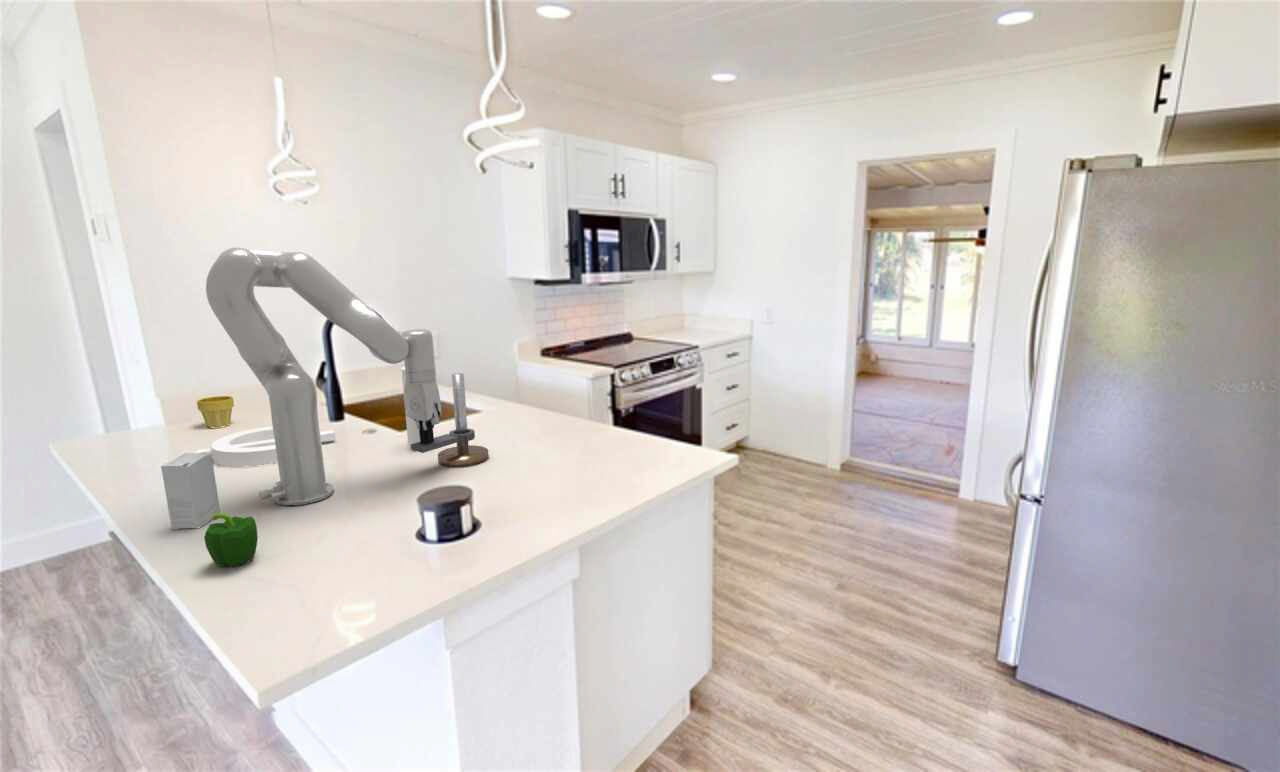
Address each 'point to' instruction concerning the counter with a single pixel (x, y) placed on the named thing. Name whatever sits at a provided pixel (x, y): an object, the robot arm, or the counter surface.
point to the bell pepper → (231, 540)
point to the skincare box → (190, 490)
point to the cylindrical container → (410, 422)
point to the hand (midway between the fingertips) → (427, 442)
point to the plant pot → (216, 410)
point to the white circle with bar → (250, 447)
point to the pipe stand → (463, 452)
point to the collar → (444, 441)
